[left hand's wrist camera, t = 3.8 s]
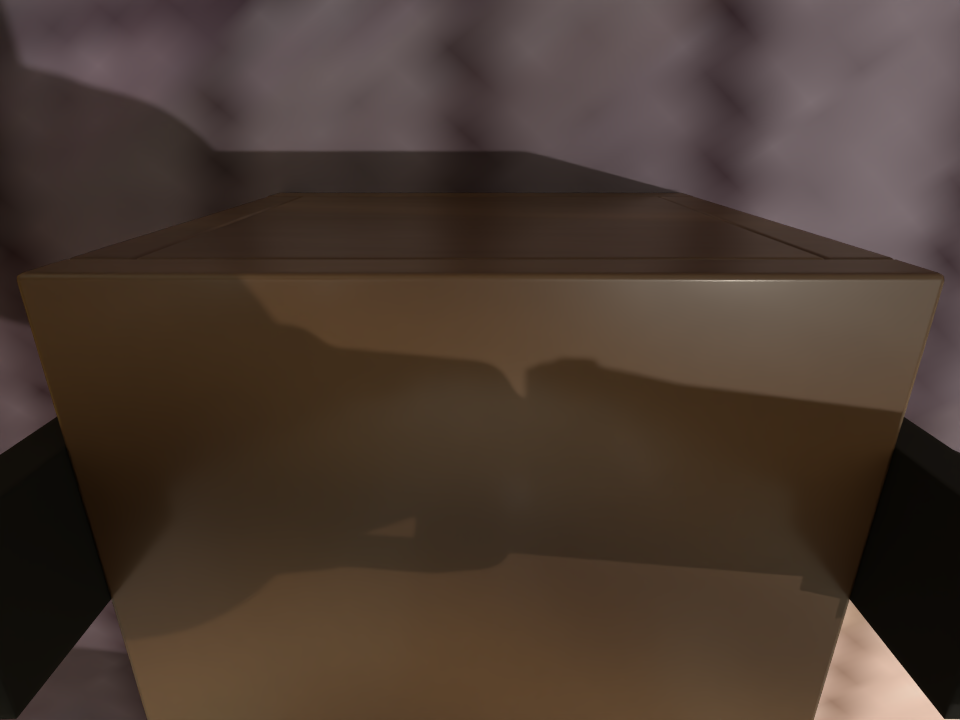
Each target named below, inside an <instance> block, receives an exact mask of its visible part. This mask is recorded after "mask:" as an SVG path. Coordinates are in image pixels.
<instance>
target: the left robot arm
mask: <svg viewBox="0 0 960 720" xmlns="http://www.w3.org/2000/svg"><path fill="white" fill-rule="evenodd" d="M110 600H111V596H110V593H109V589H108V586H107V583H106V579H105V576H104V572H103V569H102V566H101V562H100V559H99V556H98V552H97V549H96V545H95V542H94V539H93V535H92V532H91V529H90V525H89V522H88V519H87V515H86V512H85V508H84V505H83V502H82V498H81V495H80V492H79V488H78V485H77V482H76V478H75V475H74V471H73V468H72V465H71V461H70V458H69V455H68V451H67V448H66V444H65V441H64V438H63V434H62V431H61V428H60V424H59V421H58V418H57V417H56V418H54V419H53V420H51V421H50V422H48V423H47V424H45V425H44V426H43V427H41V428H40V429H38V430H37V431H35V432H34V433H32V434H31V435H29V436H28V437H26V438H25V439H23V440H22V441H20V442H19V443H17V444H16V445H14V446H13V447H11V448H10V449H8V450H7V451H5V452H4V453H2V454H1V455H0V719H17V717H18V716H19V715H20V714H21V712H22V711H23V710H24V709H25V707H26V706H27V705H28V703H29V702H30V701H31V700H32V698H33V697H34V696H35V695H36V693H37V692H38V691H39V690H40V688H41V687H42V686H43V685H44V683H45V682H46V681H47V679H48V678H49V677H50V676H51V674H52V673H53V672H54V671H55V669H56V668H57V667H58V666H59V664H60V663H61V662H62V660H63V659H64V658H65V657H66V655H67V654H68V653H69V652H70V650H71V649H72V648H73V647H74V645H75V644H76V643H77V642H78V640H79V639H80V638H81V636H82V635H83V634H84V633H85V631H86V630H87V629H88V628H89V626H90V625H91V624H92V623H93V621H94V620H95V619H96V617H97V616H98V615H99V614H100V612H101V611H102V610H103V609H104V607H105V606H106V605H107V604H108V602H109V601H110ZM850 600H851V601H852V603H853V604H854V605H855V607H856V608H857V609H858V610H859V612H860V613H861V614H862V615H863V617H864V618H865V619H866V620H867V622H868V623H869V624H870V626H871V627H872V628H873V629H874V631H875V632H876V633H877V634H878V636H879V637H880V638H881V639H882V641H883V642H884V643H885V644H886V646H887V647H888V648H889V650H890V651H891V652H892V653H893V655H894V656H895V657H896V658H897V660H898V661H899V662H900V663H901V665H902V666H903V667H904V669H905V670H906V671H907V672H908V674H909V675H910V676H911V677H912V679H913V680H914V681H915V682H916V684H917V685H918V686H919V687H920V689H921V690H922V691H923V693H924V694H925V695H926V696H927V698H928V699H929V700H930V701H931V703H932V704H933V705H934V706H935V708H936V709H937V710H938V711H939V713H940V714H941V715H942V717H943V718H944V719H960V453H959V452H957V451H955V450H952V449H951V448H949V447H948V446H946V445H945V444H944V443H942V442H941V441H939V440H938V439H936V438H935V437H933V436H932V435H930V434H929V433H927V432H926V431H924V430H923V429H921V428H920V427H918V426H917V425H915V424H914V423H912V422H911V421H909V420H908V419H906V418H905V417H904V418H903V421H902V425H901V428H900V431H899V435H898V438H897V442H896V445H895V448H894V452H893V455H892V458H891V462H890V465H889V468H888V472H887V475H886V478H885V482H884V485H883V489H882V492H881V495H880V499H879V502H878V505H877V509H876V512H875V515H874V519H873V522H872V525H871V529H870V532H869V536H868V539H867V542H866V546H865V549H864V552H863V556H862V559H861V562H860V566H859V569H858V572H857V576H856V579H855V582H854V586H853V589H852V593H851V596H850Z"/></svg>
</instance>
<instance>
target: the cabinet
mask: <svg viewBox="0 0 960 720" xmlns="http://www.w3.org/2000/svg"><path fill="white" fill-rule="evenodd" d="M17 283H18V286H19V290H20V293H21V296H22V300H23V303H24V306H25V310H26V313H27V316H28V320H29V323H30V327H31V330H32V333H33V337H34V340H35V343H36V347H37V350H38V354H39V357H40V360H41V364H42V367H43V370H44V374H45V377H46V380H47V384H48V387H49V391H50V394H51V397H52V401H53V404H54V407H55V411H56V414H57V418H58V421H59V424H60V428H61V431H62V434H63V438H64V441H65V444H66V448H67V451H68V455H69V458H70V461H71V465H72V468H73V471H74V475H75V478H76V482H77V485H78V488H79V492H80V495H81V498H82V502H83V505H84V508H85V512H86V515H87V519H88V522H89V525H90V529H91V532H92V535H93V539H94V542H95V545H96V549H97V552H98V556H99V559H100V562H101V566H102V569H103V572H104V576H105V579H106V583H107V586H108V589H109V593H110V596H111V599H112V603H113V606H114V609H115V613H116V616H117V620H118V623H119V626H120V630H121V633H122V636H123V640H124V643H125V647H126V650H127V653H128V657H129V660H130V663H131V667H132V670H133V673H134V677H135V680H136V684H137V687H138V690H139V694H140V697H141V700H142V704H143V707H144V710H145V714H146V717H147V720H814V717H815V713H816V710H817V707H818V703H819V700H820V697H821V693H822V690H823V687H824V683H825V680H826V676H827V673H828V670H829V666H830V663H831V660H832V656H833V653H834V650H835V646H836V643H837V640H838V636H839V633H840V629H841V626H842V623H843V619H844V616H845V613H846V609H847V606H848V603H849V599H850V596H851V593H852V589H853V586H854V582H855V579H856V576H857V572H858V569H859V566H860V562H861V559H862V556H863V552H864V549H865V546H866V542H867V539H868V536H869V532H870V529H871V525H872V522H873V519H874V515H875V512H876V509H877V505H878V502H879V499H880V495H881V492H882V489H883V485H884V482H885V478H886V475H887V472H888V468H889V465H890V462H891V458H892V455H893V452H894V448H895V445H896V442H897V438H898V435H899V431H900V428H901V425H902V421H903V418H904V415H905V411H906V408H907V405H908V401H909V398H910V395H911V391H912V388H913V384H914V381H915V378H916V374H917V371H918V368H919V364H920V361H921V358H922V354H923V351H924V348H925V344H926V341H927V337H928V334H929V331H930V327H931V324H932V321H933V317H934V314H935V311H936V307H937V304H938V301H939V297H940V294H941V291H942V287H943V284H944V276H943V275H942V274H940V273H937V272H934V271H931V270H928V269H925V268H921V267H918V266H915V265H912V264H908V263H905V262H902V261H899V260H893V259H892V258H890V257H887V256H884V255H881V254H877V253H874V252H871V251H868V250H864V249H861V248H858V247H855V246H851V245H848V244H845V243H842V242H839V241H835V240H832V239H829V238H826V237H822V236H819V235H816V234H813V233H809V232H806V231H803V230H800V229H796V228H793V227H790V226H787V225H783V224H780V223H777V222H774V221H770V220H767V219H764V218H761V217H757V216H754V215H751V214H748V213H744V212H741V211H738V210H735V209H731V208H728V207H725V206H722V205H719V204H715V203H712V202H709V201H706V200H702V199H699V198H696V197H693V196H690V195H687V194H683V193H277V194H274V195H271V196H268V197H266V198H263V199H259V200H256V201H253V202H250V203H246V204H243V205H240V206H237V207H234V208H230V209H227V210H224V211H221V212H217V213H214V214H211V215H208V216H204V217H201V218H198V219H195V220H192V221H188V222H185V223H182V224H179V225H175V226H172V227H169V228H166V229H162V230H159V231H156V232H153V233H150V234H146V235H143V236H140V237H137V238H133V239H130V240H127V241H124V242H120V243H117V244H114V245H111V246H107V247H104V248H101V249H98V250H95V251H91V252H88V253H85V254H82V255H78V256H75V257H73V258H71V259H65V260H62V261H59V262H55V263H52V264H49V265H46V266H42V267H39V268H36V269H33V270H29V271H26V272H23V273H21V274H19V275H18V276H17Z"/></svg>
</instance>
